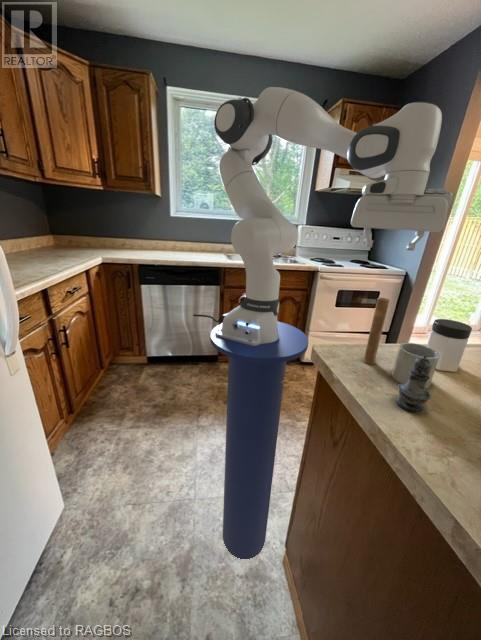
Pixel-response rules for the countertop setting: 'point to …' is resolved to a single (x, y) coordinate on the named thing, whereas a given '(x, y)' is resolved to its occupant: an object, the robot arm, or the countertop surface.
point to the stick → (376, 330)
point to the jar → (449, 342)
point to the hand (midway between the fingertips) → (388, 248)
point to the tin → (407, 359)
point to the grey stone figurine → (415, 387)
